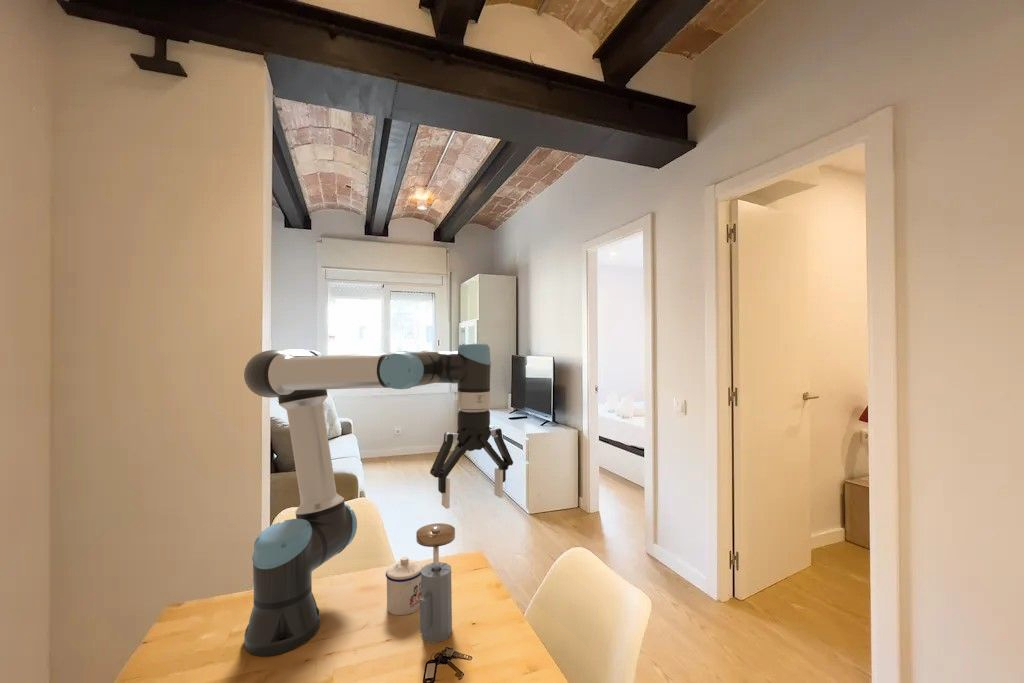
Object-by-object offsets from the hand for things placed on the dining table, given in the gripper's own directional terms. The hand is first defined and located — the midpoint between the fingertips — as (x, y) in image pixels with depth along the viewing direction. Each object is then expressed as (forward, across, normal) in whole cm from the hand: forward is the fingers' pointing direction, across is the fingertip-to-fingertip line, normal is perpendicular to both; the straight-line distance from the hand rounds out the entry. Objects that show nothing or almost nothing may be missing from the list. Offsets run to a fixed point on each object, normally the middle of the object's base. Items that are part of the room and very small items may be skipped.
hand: (473, 501), depth 100 cm
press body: (+28, -9, +1) cm, 30 cm away
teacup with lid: (+29, -10, +17) cm, 35 cm away
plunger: (+19, -8, +2) cm, 21 cm away
